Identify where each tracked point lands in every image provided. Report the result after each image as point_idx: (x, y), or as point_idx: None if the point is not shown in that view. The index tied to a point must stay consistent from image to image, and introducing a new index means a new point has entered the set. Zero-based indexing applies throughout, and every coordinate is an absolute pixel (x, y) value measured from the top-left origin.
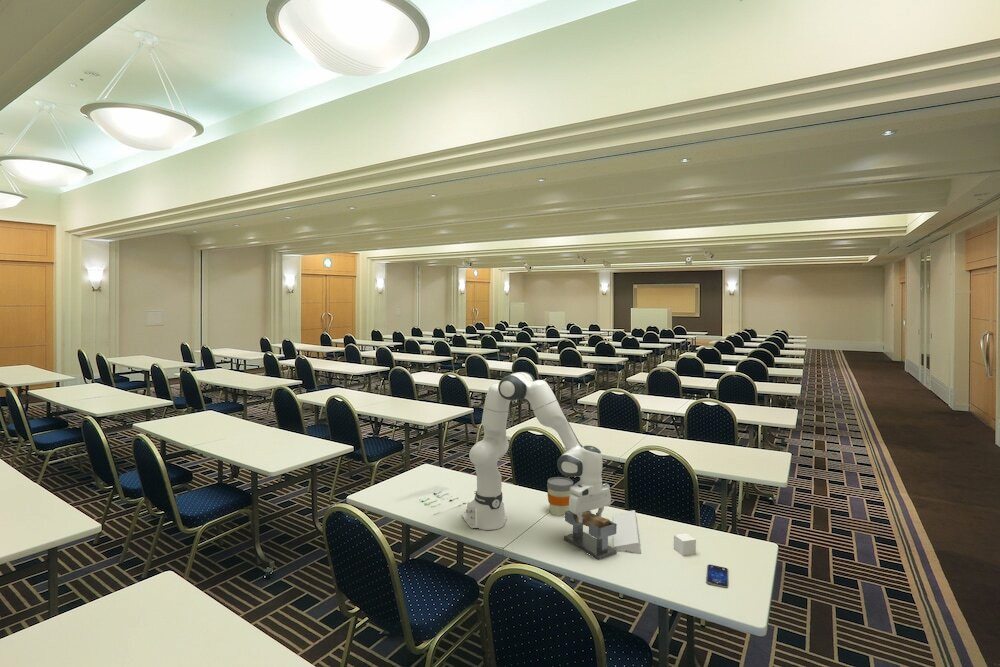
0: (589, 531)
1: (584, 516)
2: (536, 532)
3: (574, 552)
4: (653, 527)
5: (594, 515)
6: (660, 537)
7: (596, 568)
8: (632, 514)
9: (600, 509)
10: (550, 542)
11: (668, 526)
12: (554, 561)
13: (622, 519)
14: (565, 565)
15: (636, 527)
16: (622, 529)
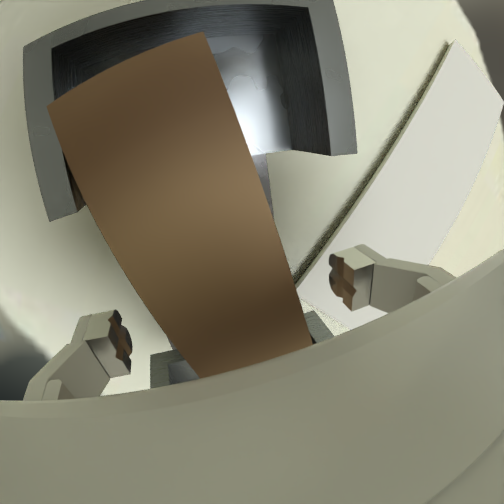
0: (153, 374)
1: (160, 318)
2: (33, 4)
3: (92, 253)
4: (482, 174)
5: (284, 345)
6: (458, 237)
7: (140, 379)
8: (491, 116)
9: (412, 299)
10: (25, 116)
11: (497, 189)
12: (4, 299)
13: (461, 106)
14: (37, 336)
15: (453, 221)
16: (421, 179)
